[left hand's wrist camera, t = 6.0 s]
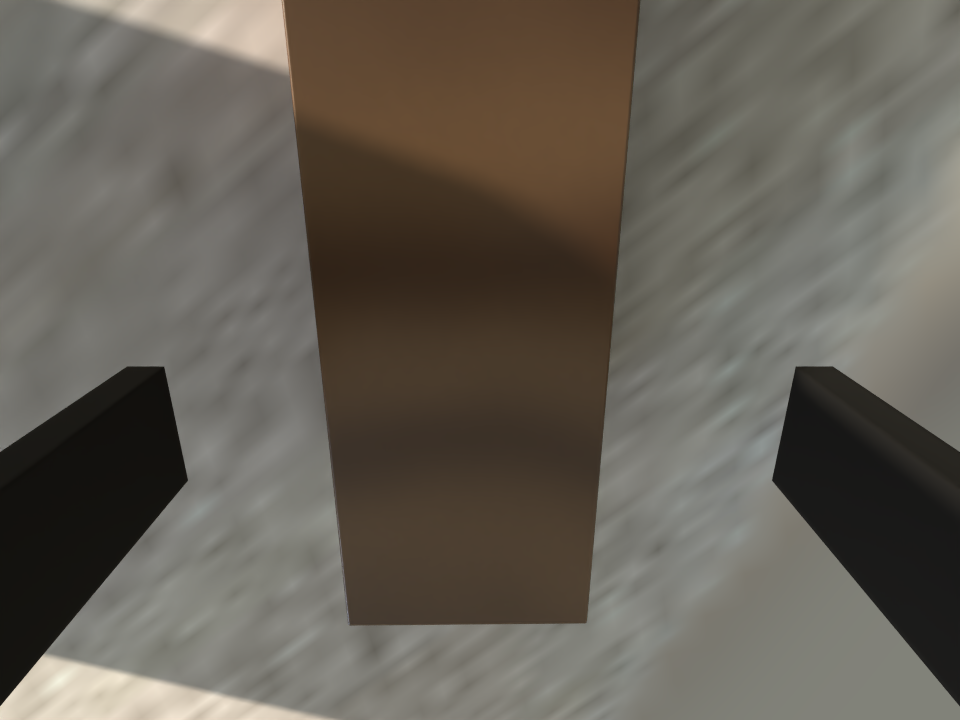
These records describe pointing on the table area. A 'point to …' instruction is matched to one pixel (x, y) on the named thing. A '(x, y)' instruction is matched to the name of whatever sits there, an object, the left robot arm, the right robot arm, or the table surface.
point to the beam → (463, 291)
